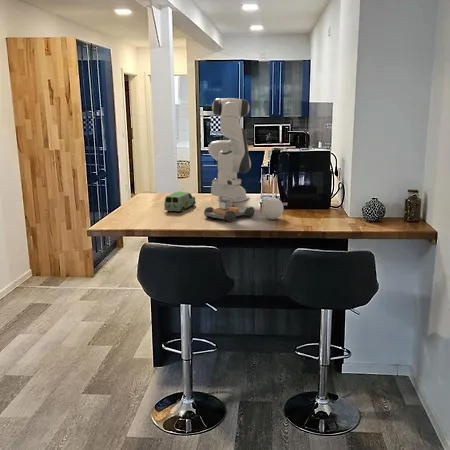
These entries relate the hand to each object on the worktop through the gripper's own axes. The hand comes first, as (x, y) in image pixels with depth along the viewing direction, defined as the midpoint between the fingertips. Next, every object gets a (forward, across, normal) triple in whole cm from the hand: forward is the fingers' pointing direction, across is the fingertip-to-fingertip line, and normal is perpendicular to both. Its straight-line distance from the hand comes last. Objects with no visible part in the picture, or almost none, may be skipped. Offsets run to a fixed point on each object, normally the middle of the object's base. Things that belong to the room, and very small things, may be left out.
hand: (225, 205), depth 281 cm
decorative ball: (+8, +20, +16) cm, 27 cm away
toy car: (+8, -38, 0) cm, 39 cm away
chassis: (+7, 0, +3) cm, 8 cm away
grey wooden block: (+2, 0, 0) cm, 2 cm away
